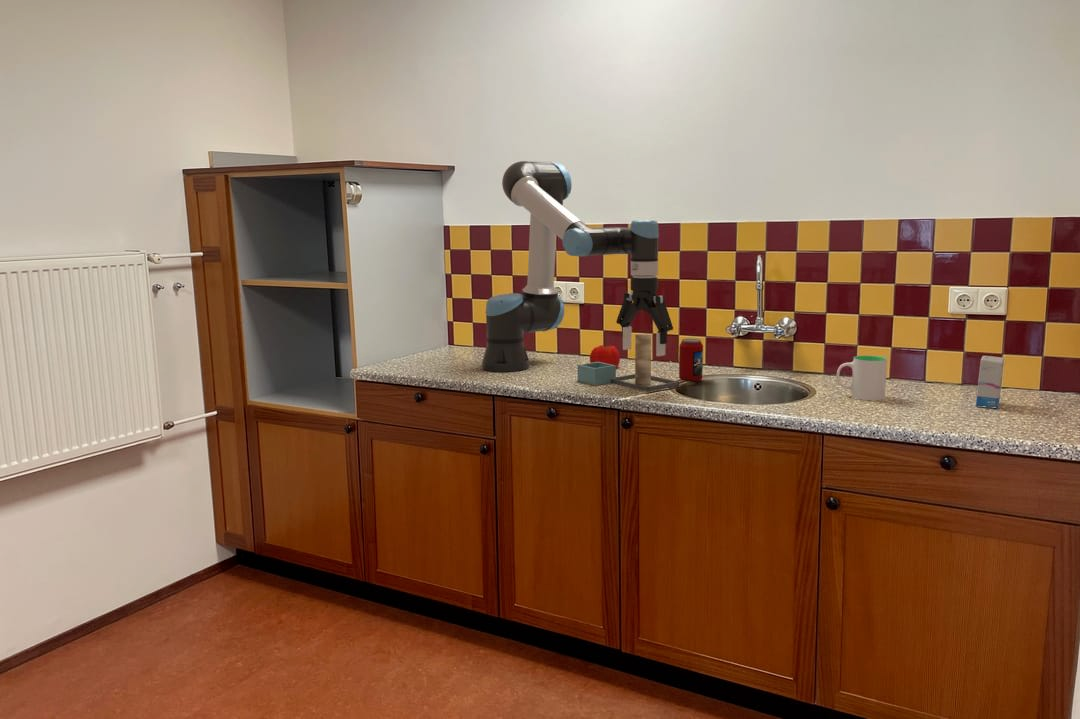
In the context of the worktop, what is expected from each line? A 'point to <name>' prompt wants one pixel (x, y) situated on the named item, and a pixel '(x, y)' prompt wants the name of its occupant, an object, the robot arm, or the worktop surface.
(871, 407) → the worktop surface
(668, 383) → the dark grey rectangular frame
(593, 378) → the teal open box
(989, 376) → the ink box
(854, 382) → the mug
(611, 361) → the tomato
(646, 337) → the dowel
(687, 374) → the beverage can
